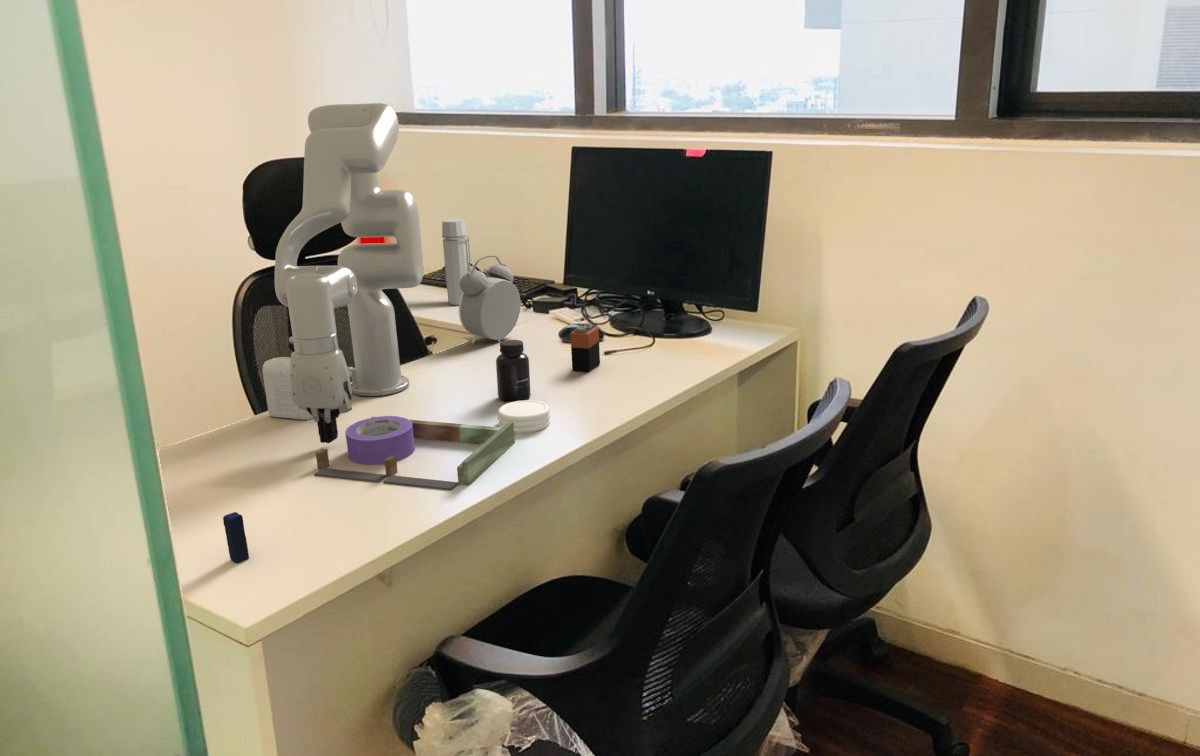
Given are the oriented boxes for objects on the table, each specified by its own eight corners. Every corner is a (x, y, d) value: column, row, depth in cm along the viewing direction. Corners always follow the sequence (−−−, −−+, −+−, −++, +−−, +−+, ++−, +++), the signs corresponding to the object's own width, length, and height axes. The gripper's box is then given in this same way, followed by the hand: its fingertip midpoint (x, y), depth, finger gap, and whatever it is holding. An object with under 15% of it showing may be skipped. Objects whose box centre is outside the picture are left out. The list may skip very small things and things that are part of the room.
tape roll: (381, 470, 158) (378, 443, 157) (334, 458, 164) (330, 432, 163) (428, 447, 168) (425, 421, 166) (381, 436, 174) (379, 412, 172)
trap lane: (317, 469, 160) (314, 447, 158) (375, 430, 177) (373, 410, 176) (469, 485, 151) (467, 462, 150) (514, 442, 168) (513, 422, 167)
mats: (314, 475, 157) (314, 473, 157) (322, 469, 159) (322, 467, 159) (451, 490, 149) (451, 488, 149) (458, 483, 151) (458, 482, 151)
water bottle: (444, 306, 275) (436, 222, 267) (452, 300, 282) (445, 218, 275) (474, 306, 273) (467, 222, 266) (481, 300, 281) (475, 218, 273)
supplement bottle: (525, 403, 188) (522, 347, 185) (494, 402, 190) (489, 346, 186) (534, 392, 195) (531, 338, 191) (503, 392, 196) (500, 337, 192)
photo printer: (321, 414, 187) (313, 356, 183) (309, 421, 183) (301, 362, 179) (278, 410, 190) (270, 353, 186) (265, 418, 186) (256, 359, 182)
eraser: (236, 564, 128) (228, 520, 126) (228, 559, 130) (221, 515, 128) (250, 558, 130) (243, 514, 128) (243, 553, 131) (236, 510, 129)
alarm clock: (501, 331, 245) (495, 249, 238) (526, 335, 240) (520, 251, 233) (458, 346, 232) (450, 260, 225) (483, 350, 227) (476, 262, 220)
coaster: (492, 421, 180) (490, 404, 179) (540, 413, 183) (539, 396, 182) (508, 438, 171) (506, 420, 170) (558, 428, 175) (557, 411, 174)
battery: (571, 371, 208) (569, 328, 205) (583, 362, 214) (581, 321, 211) (589, 373, 207) (587, 330, 204) (600, 364, 213) (599, 322, 210)
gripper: (267, 347, 162) (282, 444, 168) (340, 352, 158) (353, 451, 163) (293, 336, 169) (306, 430, 175) (364, 340, 164) (375, 436, 170)
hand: (329, 440), depth 169 cm, fingers closed
